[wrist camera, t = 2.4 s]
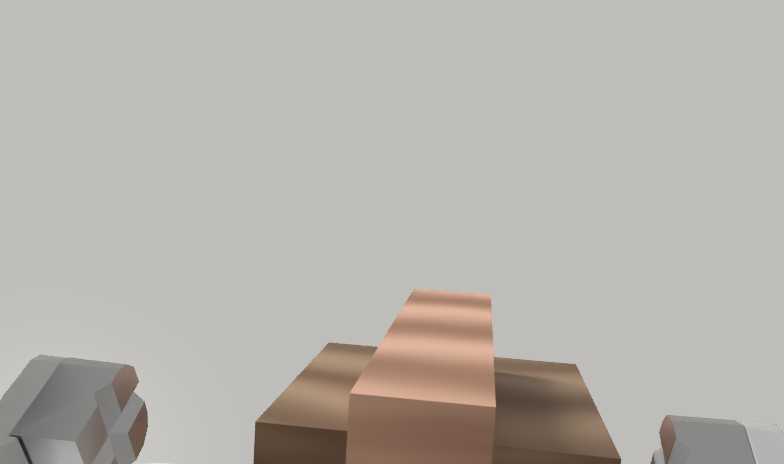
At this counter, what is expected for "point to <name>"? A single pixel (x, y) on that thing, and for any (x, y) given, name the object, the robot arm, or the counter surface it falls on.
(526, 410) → the walnut pedestal
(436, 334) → the block
